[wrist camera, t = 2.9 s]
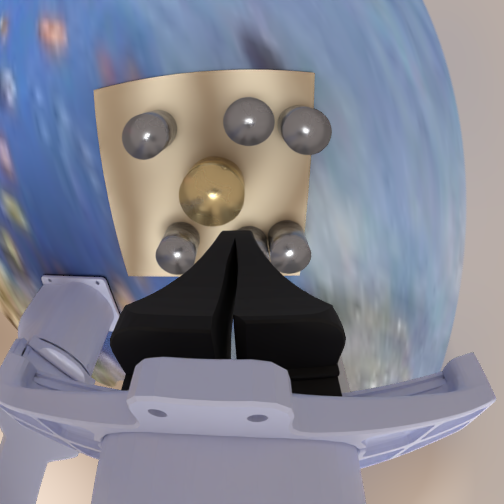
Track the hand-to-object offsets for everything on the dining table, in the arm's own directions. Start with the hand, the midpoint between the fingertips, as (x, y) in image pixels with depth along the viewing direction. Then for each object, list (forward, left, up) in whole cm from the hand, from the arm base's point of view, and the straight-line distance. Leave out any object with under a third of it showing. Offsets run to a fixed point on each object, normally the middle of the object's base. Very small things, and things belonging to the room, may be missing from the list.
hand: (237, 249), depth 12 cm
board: (-3, 0, -10) cm, 10 cm away
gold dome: (-2, 0, -9) cm, 9 cm away
